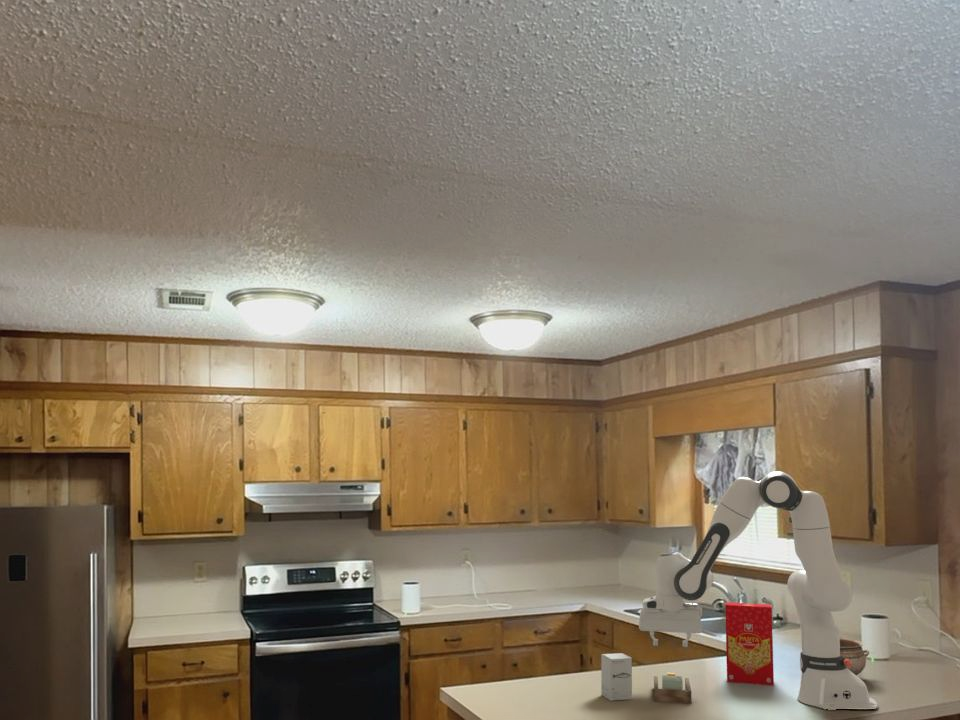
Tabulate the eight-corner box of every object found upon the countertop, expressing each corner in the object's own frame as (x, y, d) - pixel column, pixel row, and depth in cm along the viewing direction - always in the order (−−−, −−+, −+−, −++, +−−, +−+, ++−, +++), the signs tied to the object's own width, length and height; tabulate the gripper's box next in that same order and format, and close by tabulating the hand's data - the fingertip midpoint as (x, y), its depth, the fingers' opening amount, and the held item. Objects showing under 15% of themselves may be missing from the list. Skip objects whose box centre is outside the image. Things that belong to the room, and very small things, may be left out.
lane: (689, 689, 284) (688, 678, 285) (691, 703, 269) (691, 691, 269) (654, 687, 286) (653, 676, 287) (654, 701, 271) (654, 689, 271)
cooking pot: (851, 670, 310) (850, 634, 312) (887, 684, 292) (885, 646, 293) (787, 673, 305) (786, 637, 307) (819, 688, 287) (817, 649, 288)
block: (680, 686, 288) (680, 667, 288) (682, 701, 271) (682, 681, 272) (661, 685, 289) (661, 666, 289) (662, 700, 272) (662, 680, 273)
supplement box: (610, 701, 270) (610, 658, 271) (600, 695, 277) (600, 653, 278) (632, 699, 272) (632, 657, 273) (622, 693, 279) (622, 652, 280)
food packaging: (727, 681, 294) (725, 604, 296) (727, 678, 299) (725, 602, 301) (773, 685, 290) (771, 607, 292) (773, 681, 295) (771, 604, 297)
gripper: (701, 602, 291) (702, 645, 290) (638, 599, 295) (638, 642, 293) (703, 605, 285) (703, 649, 284) (638, 602, 289) (638, 646, 287)
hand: (670, 645), depth 288 cm, fingers open, 8 cm apart
